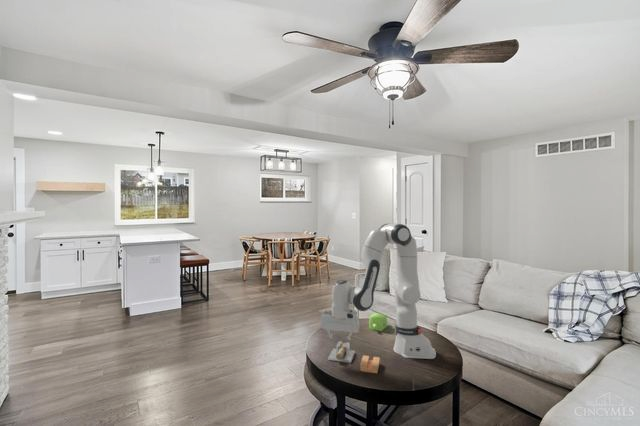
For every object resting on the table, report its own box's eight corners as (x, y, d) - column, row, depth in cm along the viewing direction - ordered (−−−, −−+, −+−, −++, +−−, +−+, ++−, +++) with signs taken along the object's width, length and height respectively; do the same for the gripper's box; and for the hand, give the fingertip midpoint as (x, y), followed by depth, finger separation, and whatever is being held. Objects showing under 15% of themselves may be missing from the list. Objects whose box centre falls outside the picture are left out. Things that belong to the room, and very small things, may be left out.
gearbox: (381, 336, 202) (381, 321, 202) (366, 333, 207) (366, 318, 207) (390, 327, 218) (390, 313, 218) (376, 325, 223) (376, 311, 223)
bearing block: (354, 354, 176) (354, 343, 176) (350, 364, 164) (350, 352, 164) (333, 351, 179) (333, 340, 179) (328, 361, 168) (328, 349, 168)
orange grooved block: (379, 365, 163) (379, 357, 163) (377, 374, 154) (377, 366, 154) (363, 363, 166) (363, 355, 166) (360, 372, 156) (360, 364, 156)
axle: (341, 348, 179) (341, 342, 179) (347, 349, 178) (347, 343, 178) (335, 359, 165) (336, 353, 165) (342, 360, 164) (342, 354, 164)
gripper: (319, 311, 168) (318, 338, 168) (358, 315, 162) (357, 343, 162) (322, 308, 174) (321, 334, 174) (360, 312, 168) (359, 338, 168)
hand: (339, 338), depth 168 cm, fingers open, 8 cm apart
